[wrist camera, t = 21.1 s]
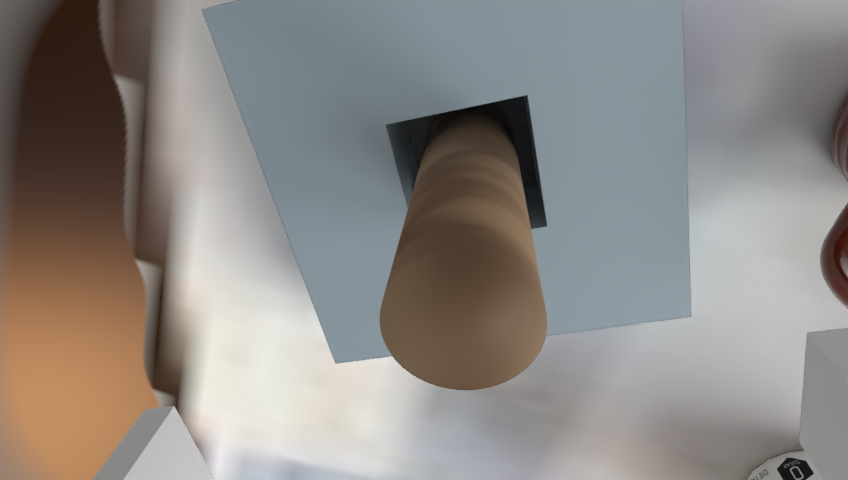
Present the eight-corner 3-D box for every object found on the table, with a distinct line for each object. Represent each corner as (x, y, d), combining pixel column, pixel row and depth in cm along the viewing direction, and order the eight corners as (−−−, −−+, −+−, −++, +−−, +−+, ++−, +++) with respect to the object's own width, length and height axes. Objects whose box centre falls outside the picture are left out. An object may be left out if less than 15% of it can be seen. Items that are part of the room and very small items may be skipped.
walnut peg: (506, 90, 28) (534, 238, 13) (520, 173, 30) (557, 379, 15) (419, 109, 28) (360, 267, 14) (438, 188, 30) (402, 398, 16)
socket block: (641, -105, 23) (678, -117, 19) (661, 264, 31) (691, 316, 27) (247, -1, 27) (201, 9, 22) (354, 310, 34) (335, 363, 30)
